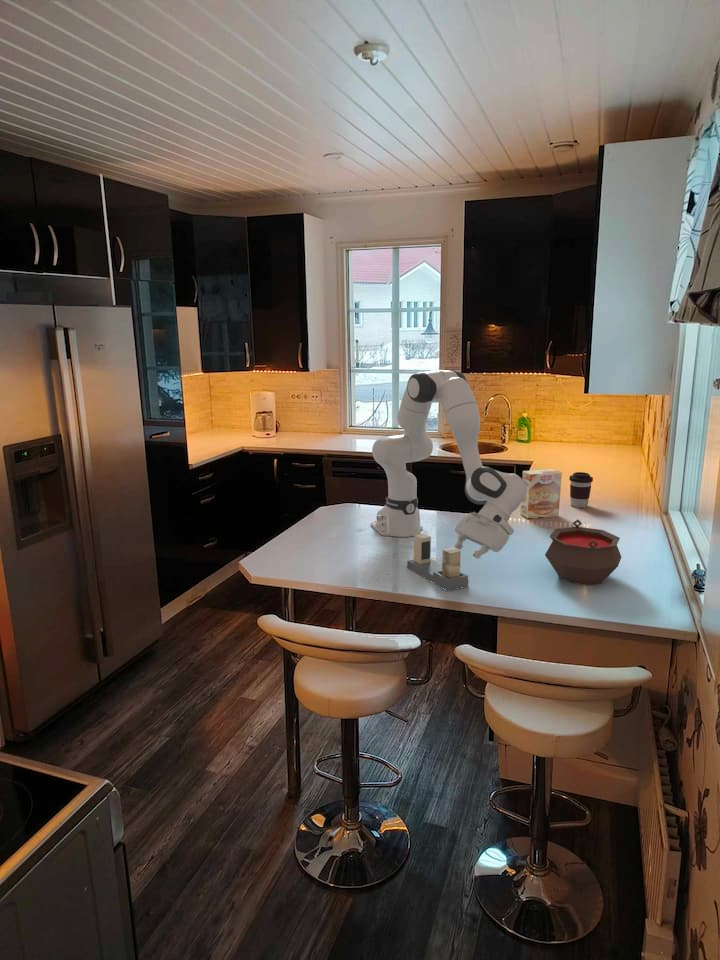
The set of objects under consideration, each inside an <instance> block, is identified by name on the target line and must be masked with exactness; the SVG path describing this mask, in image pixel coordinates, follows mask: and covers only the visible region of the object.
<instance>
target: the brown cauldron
mask: <svg viewBox="0 0 720 960" xmlns="http://www.w3.org/2000/svg"><path fill="white" fill-rule="evenodd" d="M577 523H578V524H577ZM572 524H573V526H570V527H569V526H567V527H559V528H554V529H553V531H551V534H550V535H549V537H550V539H551V540H552V541H551V543H550V545H549V547H548V549H547V550H546V552H545V554H544V556H545V557H546V559H547V560H548V562H549V563H550V565H551V567H552V568H553V570H554V571H555V573H556V574H557V576H558V577H559V578H561V579H562V580H564V581H566V582H568V583H570V584H575V585H576V584H577V585H581V586H593V585H599V584H603V582H604V581H605V580H606V579H607V578H608V577H609V576H611V574H612V573H613V572H614V571H615V570H616V569H617V568H618V566H619V565H620V562H621V560H622V555H621V552H620V550H619V546H618V543H619V541H620V539H621V537H619V536H617V535H615V534H612V533H610V532H608V531H606V530H604V529H597V528H590V527H583V526H581V525H582V524H583V523H582V522H581V521H580V520H579V519H576V520H575V521H574V522H572Z"/></svg>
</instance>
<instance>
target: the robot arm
mask: <svg viewBox="0 0 720 960" xmlns="http://www.w3.org/2000/svg"><path fill="white" fill-rule="evenodd" d="M407 380H408V381H407V384H406V388H405V390H404V392H403V395H402V398H401V400H400V401H401V402H400V404H399V409H398V412H397V416H396V421H397V424H398V426H399V427H400V428H401V429H402V430H403V432H402V433H401V434H396V435H387V436H385V437H381V438H379V439H378V438H377V439H376V440H375V441H374V442H373V445H372V448H371V454H372V457H373V459H374V461H375V462H376V464H378V465H380V466H381V467H382V468H383V469H384V472H385V474H386V478H387V485H388V487H387V488H388V493H387V494H388V496H387V497H385V500H386V502H385V504H384V506H383V507H382V508H381V509H379V510H378V511H377V514H376V520H374V521H371V523H370V527H372V528H373V529H374V530H376V531H377V532H378V533H379V534H380V535H381V536H384V537H385V536H386V537H387V536H388V537H397V538H399V537H400V538H407V537H408V538H409V537H414V535H418V534H421V530H423V525H421V514H420V509H419V508H418V503H419V500H418V497H417V495H418V494H417V491H418V490H417V487H418V485H417V484H418V481H417V477H416V476H415V475H414V474H413V473H412V472H410V471H408V470H407V466H406V464H408V463H416V462H420V461H422V460H425V459H428V458H429V457H430V456H431V455H432V453H433V451H434V450H433V448H434V443H433V440H432V439H431V437H430V436H429V435H428V434H427V431H426V429H427V427H426V426H427V423H428V422H427V421H428V417H429V414H430V411H431V408H432V404H435V403H441V405H442V408H443V412H444V415H445V418H446V422H447V424H448V426H449V429H450V431H451V434H452V435H453V436H452V437H453V438H454V441H455V442H456V446H457V449H458V451H459V455H460V460H461V463H462V466H463V471H464V475H465V484H464V494H465V496H466V498H467V499H468V500H469V501H470V503H473V504H474V505H475V504H476V505H483V506H482V508H481V509H480V510H479V512H476V511H473V512H469V513H467V514H466V515H465V516H464V517H462V518H461V520H460V521H459V522H458V523H457V524H456V526H455V528H454V531H455V533H456V534H458V537H457V541H456V543H455V544H454V548H455V549H457V550H459V551H461V549H462V548H463V547H464V546H463V544H464V542H465V541H466V540H468V541H471V542H472V543H475V544H477V545H479V546H481V548H479V549H478V550H475V551H474V552H473V554H472V557H474V558H475V559H477V560H479V559H480V558H481V556H483V555H485V554H486V553H488V552H489V550H490V551H492V552H495V553H499V552H500V551H501V550H502V549H503V548H504V547H505V545H506V544H507V543H508V541H509V539H510V536H512V535H513V534H514V532H515V529H514V528H513V527H512V525H510V524H509V520H510V518H511V515H512V514H513V512H515V511H516V510H517V509H518V508H519V507H520V506H521V502H522V501H523V499H524V497H525V496H526V493H527V485H526V483H525V482H524V480H523V479H522V477H521V476H520V475H518V474H516V473H509V472H502V471H499V470H496V469H494V468H492V467H490V466H483V463H482V458H481V454H480V452H479V446H478V445H479V443H478V441H479V433H480V430H481V429H480V428H481V424H482V423H481V415H480V410H479V409H480V408H479V406H478V404H477V403H478V402H477V401H476V398H475V395H474V393H473V390H472V389H471V387H470V385H469V384H468V382H467V379H466V376H465V375H464V373H462V372H461V371H459V370H453V369H451V370H446V369H445V370H444V369H437V370H436V369H435V370H430V371H429V370H428V371H419V372H416V373H413V374H412V375H411V376H410V377H409V378H408V379H407Z"/></svg>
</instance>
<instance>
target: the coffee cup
mask: <svg viewBox="0 0 720 960" xmlns="http://www.w3.org/2000/svg"><path fill="white" fill-rule="evenodd" d="M568 480H569V481H570V485H569V496H570V506H571V507H573V506H574V507H573V508H576V507H585V508H588V507H589V506H588V504H589V501H590V495H591V489H592V482H593V481H594V478H593V477H592V476H591V475H590V473H588V472H582V471H576V472H573V474H571V475H570V476H569V479H568Z"/></svg>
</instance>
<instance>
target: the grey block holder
mask: <svg viewBox="0 0 720 960" xmlns="http://www.w3.org/2000/svg"><path fill="white" fill-rule="evenodd" d="M431 539H432V537H431V535H428V534H426V533H424V532H423V533H419V534H417V535H414V536H413V559H408V560H406V568H407V569H408V570H411V571H412V572H413V573H415V572H416V574H417V575H419V576H420V575H421V576H420V577H422V576H423V577H422V578H424V577H425V578H426V580H427V579H428V580H427V581H429V580H430V581H432V582H434V583H435V584H434V583H433V584H434V585H436V584H437V585H439V586H440V587H439V586H438V587H439V588H441V587H442V588H444V589H446V590H447V591H448V590H452V591H454V590H453V589H456V590H458V589H457V588H460V589H462V588H461V587H464V588H467V587H466V586H468V587H469V575H468V574H466V573H465V572H462V571H460V576H459V577H455V578H450V579H448V578H446V577H445V576H443V575H442V563H440V562H438V561H436V560H434V559H432V558H431V551H432V550H431V549H432V543H431V542H432V540H431ZM425 578H424V579H425ZM430 581H429V582H430ZM432 582H431V583H432ZM437 585H436V586H437ZM442 588H441V589H442ZM444 589H443V590H444ZM446 590H445V591H446ZM447 591H446V592H447ZM448 592H449V591H448Z"/></svg>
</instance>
